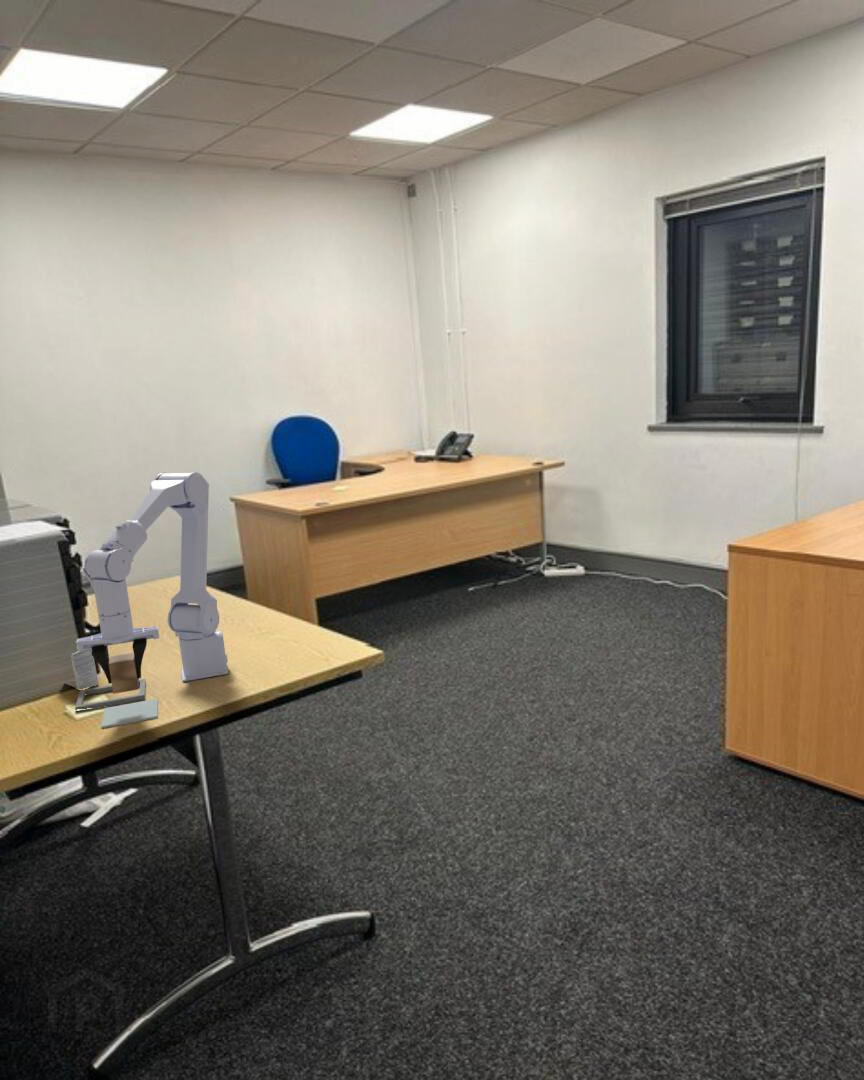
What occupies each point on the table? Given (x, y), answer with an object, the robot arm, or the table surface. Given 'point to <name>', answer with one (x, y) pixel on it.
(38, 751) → the table surface
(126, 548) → the robot arm
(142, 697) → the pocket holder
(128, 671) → the walnut block
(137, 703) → the mat
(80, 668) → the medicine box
